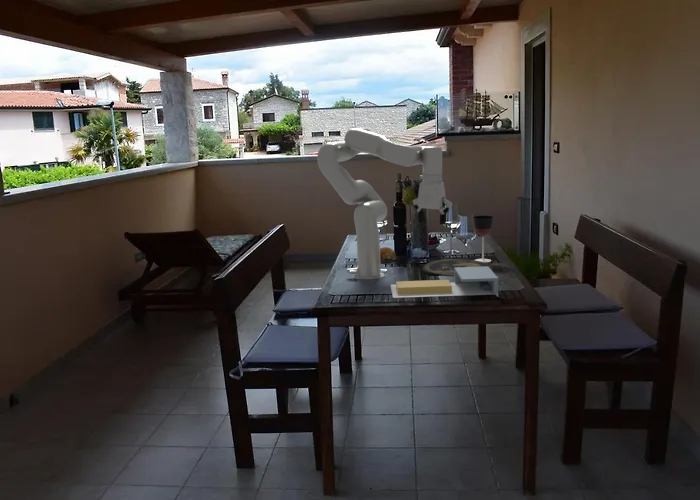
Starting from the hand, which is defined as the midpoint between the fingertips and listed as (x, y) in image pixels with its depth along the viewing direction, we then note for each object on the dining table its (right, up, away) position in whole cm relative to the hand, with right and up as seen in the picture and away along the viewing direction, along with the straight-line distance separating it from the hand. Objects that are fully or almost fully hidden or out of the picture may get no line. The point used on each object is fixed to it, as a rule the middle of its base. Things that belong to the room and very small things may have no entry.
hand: (431, 223), depth 236 cm
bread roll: (-15, -16, +49) cm, 53 cm away
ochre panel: (-4, -26, -7) cm, 27 cm away
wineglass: (+29, -16, +40) cm, 52 cm away
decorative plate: (+14, -20, +25) cm, 35 cm away
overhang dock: (+3, -26, -7) cm, 27 cm away
